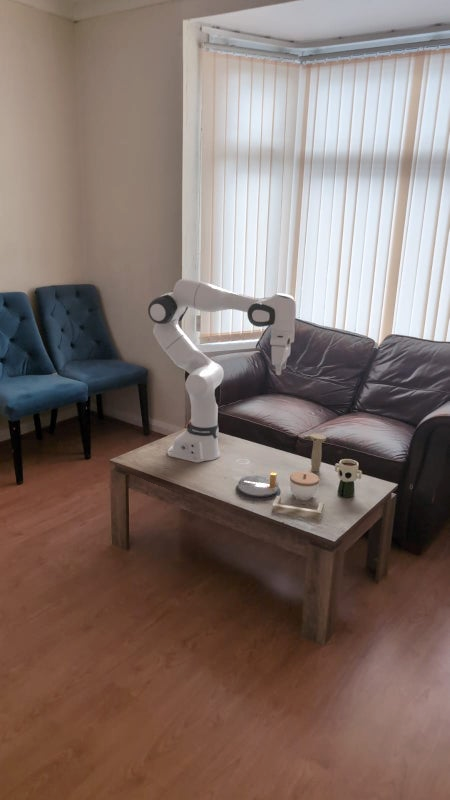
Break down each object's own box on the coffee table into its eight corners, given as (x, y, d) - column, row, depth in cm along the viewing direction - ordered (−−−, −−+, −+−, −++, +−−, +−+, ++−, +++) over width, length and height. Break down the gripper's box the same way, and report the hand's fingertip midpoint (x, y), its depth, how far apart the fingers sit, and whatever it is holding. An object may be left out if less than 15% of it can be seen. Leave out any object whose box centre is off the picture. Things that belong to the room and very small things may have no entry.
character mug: (328, 493, 232) (331, 461, 228) (337, 487, 238) (340, 456, 234) (354, 502, 226) (357, 469, 222) (363, 495, 231) (366, 463, 227)
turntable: (233, 494, 227) (234, 476, 225) (243, 477, 241) (244, 461, 239) (273, 500, 223) (274, 482, 221) (281, 483, 237) (282, 466, 235)
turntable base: (230, 496, 227) (230, 495, 227) (241, 478, 242) (241, 477, 242) (275, 503, 222) (275, 503, 222) (284, 484, 238) (284, 483, 238)
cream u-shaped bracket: (272, 511, 217) (272, 505, 216) (276, 501, 224) (276, 495, 223) (320, 519, 212) (320, 513, 212) (323, 509, 220) (323, 502, 219)
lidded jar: (294, 504, 223) (296, 480, 220) (284, 491, 233) (286, 468, 230) (322, 501, 225) (324, 478, 222) (311, 489, 235) (313, 466, 232)
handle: (319, 474, 248) (322, 439, 244) (305, 470, 252) (308, 435, 247) (325, 471, 252) (328, 436, 247) (311, 466, 255) (314, 432, 251)
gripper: (279, 331, 246) (277, 364, 250) (269, 341, 227) (267, 377, 231) (295, 332, 244) (293, 366, 248) (286, 342, 225) (284, 379, 229)
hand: (280, 371), depth 239 cm, fingers open, 8 cm apart
